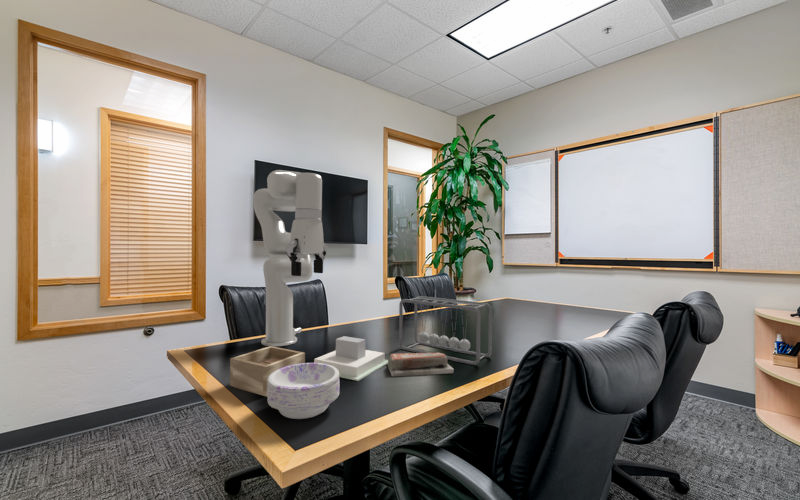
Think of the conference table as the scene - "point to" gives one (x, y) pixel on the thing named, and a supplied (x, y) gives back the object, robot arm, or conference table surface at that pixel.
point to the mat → (364, 372)
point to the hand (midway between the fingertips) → (307, 274)
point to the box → (260, 367)
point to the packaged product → (418, 364)
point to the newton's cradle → (444, 340)
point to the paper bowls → (303, 389)
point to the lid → (351, 356)
